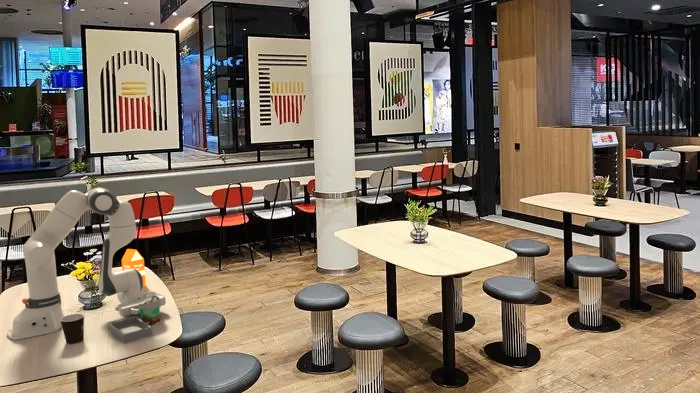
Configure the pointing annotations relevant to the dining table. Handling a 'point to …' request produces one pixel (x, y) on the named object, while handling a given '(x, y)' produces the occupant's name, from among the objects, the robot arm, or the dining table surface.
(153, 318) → the ice cream cake half
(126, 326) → the bin
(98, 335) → the dining table surface
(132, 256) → the orange juice
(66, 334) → the coffee mug
